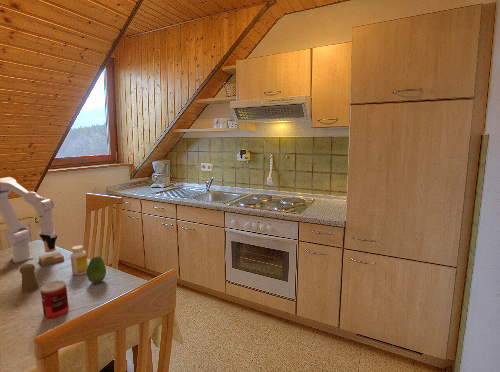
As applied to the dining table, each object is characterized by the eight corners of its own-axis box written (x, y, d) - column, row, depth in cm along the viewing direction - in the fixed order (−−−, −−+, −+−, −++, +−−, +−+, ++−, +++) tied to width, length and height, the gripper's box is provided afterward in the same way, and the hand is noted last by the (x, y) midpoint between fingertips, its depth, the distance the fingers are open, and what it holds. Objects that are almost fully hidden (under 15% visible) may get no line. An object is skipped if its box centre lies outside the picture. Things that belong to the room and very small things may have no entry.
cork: (42, 286, 128) (38, 263, 126) (28, 293, 123) (24, 269, 121) (32, 284, 130) (29, 261, 128) (18, 291, 125) (14, 267, 123)
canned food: (51, 307, 113) (47, 280, 111) (73, 306, 114) (69, 279, 112) (39, 319, 106) (35, 291, 104) (62, 318, 106) (58, 290, 104)
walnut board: (39, 261, 154) (38, 256, 154) (59, 255, 161) (58, 251, 160) (43, 266, 148) (43, 261, 148) (64, 260, 155) (63, 256, 154)
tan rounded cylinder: (43, 251, 153) (42, 240, 152) (53, 248, 157) (52, 238, 156) (46, 253, 150) (45, 242, 149) (57, 250, 154) (55, 240, 153)
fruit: (111, 279, 134) (108, 255, 132) (95, 288, 127) (92, 262, 125) (99, 276, 137) (96, 252, 135) (83, 284, 130) (80, 258, 128)
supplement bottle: (91, 269, 144) (88, 244, 142) (82, 275, 138) (79, 250, 136) (78, 268, 145) (75, 244, 143) (69, 275, 139) (66, 249, 136)
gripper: (32, 222, 152) (36, 247, 155) (42, 227, 143) (46, 253, 146) (48, 219, 158) (51, 243, 160) (58, 224, 149) (61, 249, 151)
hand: (50, 247), depth 153 cm, fingers closed on tan rounded cylinder, 5 cm apart
